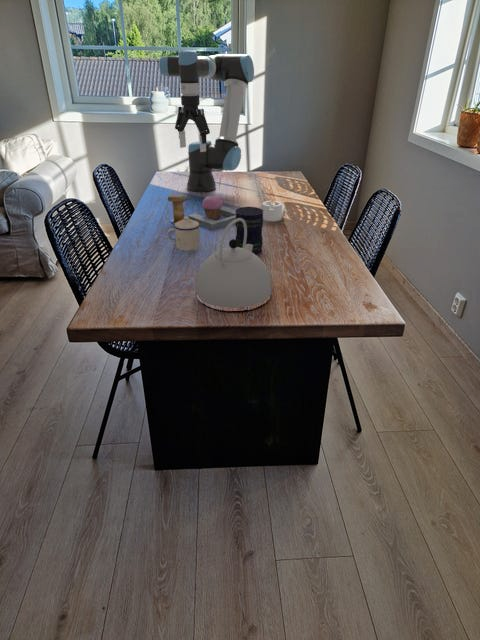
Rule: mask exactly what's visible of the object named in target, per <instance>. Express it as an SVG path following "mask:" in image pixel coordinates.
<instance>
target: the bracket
mask: <svg viewBox="0 0 480 640" xmlns="http://www.w3.org/2000/svg"><path fill="white" fill-rule="evenodd" d="M261 205H262V206H261V207H262V208H261V209H262V210H263V221H267V222H279V221H282V219H283V217H284V213H285V204H284V203H283V202H281V201H278V200H275V202H272V200H266V201H263V202H262V203H261Z"/></svg>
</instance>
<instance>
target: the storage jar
mask: <svg viewBox="0 0 480 640" xmlns="http://www.w3.org/2000/svg"><path fill="white" fill-rule="evenodd" d="M235 210H236V218H235V219H238V218H242V219H243V220H244V221H245V222H246V226H247V239H246V244H251V245H253V248H252V253H254V254H255V255H256V256H258V255H260V254H262V252H263V249H262V248H263V243H264V242H263V241H264V239H263V228H264V220H263V210H262V208H260V207H255V206H242V207H238V208H236V209H235ZM234 224H235V227H236V228H235V229H236V236H235V240H237V242H238V246H237V247H240V248H242V247H243V241H244V225H243V223H242V221H238V222H236V223H234ZM245 246H246V245H245Z"/></svg>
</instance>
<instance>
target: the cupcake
mask: <svg viewBox="0 0 480 640" xmlns="http://www.w3.org/2000/svg"><path fill="white" fill-rule="evenodd" d="M201 204H202V206H201V207H202V209H203V210H204V214H205V217H206V218H209V219H212V220H215V221H216V220H217V219H220V217H221V214H220V209H221V207H222V206H224V203H223V200H222V199H221V198H220V196H219V195H208V196H206V197H205V198H203V200H202V203H201Z"/></svg>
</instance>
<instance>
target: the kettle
mask: <svg viewBox="0 0 480 640" xmlns="http://www.w3.org/2000/svg"><path fill="white" fill-rule="evenodd" d="M238 221H242V223H243V225H244V241H243V247H242V248H240V247H237V246H238V242H237V240H236V238H235V239H234V238H232V239H230V240H229V242H228V246H229V247H224V243H225V239H226V236H227V233H228V231H229V230H230V229H231V227H232V226H233V225H234V224H236V222H238ZM246 239H247V226H246V222H245V221H244V220H243V219H242V218H238V219H235V220H234V221H232V222H231V223H230V224H229V225H226V226H225V229H224V230H223V233H222V236H221V239H220V243H219V249H218V250H217V251H215V252H214V253H212V254H211V255H210V256H209V257H207V258H206V259H205V261H203V263H202V265H201V266H200V268H199V270H198V273H197V276H196V283H195V284H196V285H195V292H196V293H197V295H198V297H199V298H200V299H201V300H202V301H204V302H206V303H208V304H211V305H214V306H219V307H228V308H229V307H230V308H236V307H248V306H253V305H257V304H259V303H261V302H263V301H265V300H266V299H268V297H269V296H270V295H271V296H272V279H271V275H270V272H269V269H268V267H267V265H266V264H265V263H264V261H263V260H262V259H261V258H260V257H259V256H258V255H255V254H254V253H252V248H253V245H251V244H246ZM245 245H246V246H245ZM196 293H195V294H196Z"/></svg>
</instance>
